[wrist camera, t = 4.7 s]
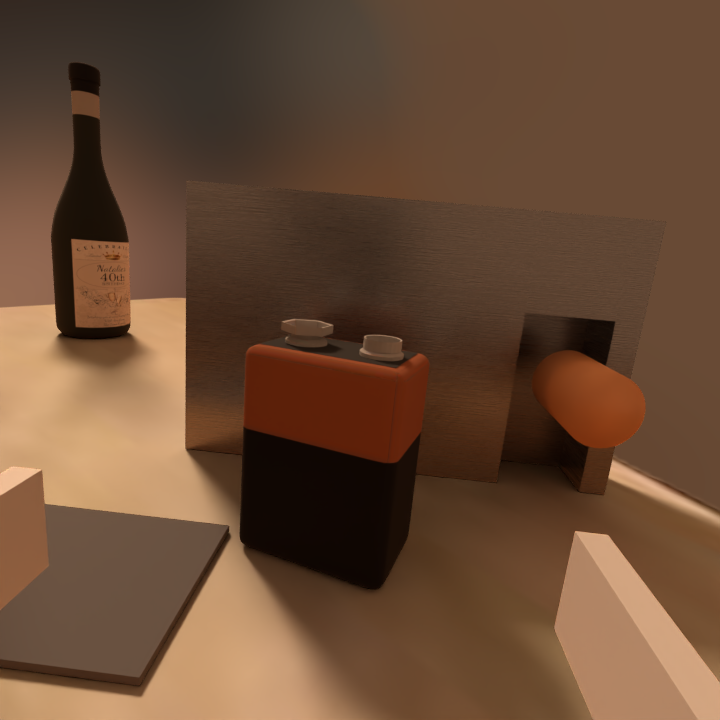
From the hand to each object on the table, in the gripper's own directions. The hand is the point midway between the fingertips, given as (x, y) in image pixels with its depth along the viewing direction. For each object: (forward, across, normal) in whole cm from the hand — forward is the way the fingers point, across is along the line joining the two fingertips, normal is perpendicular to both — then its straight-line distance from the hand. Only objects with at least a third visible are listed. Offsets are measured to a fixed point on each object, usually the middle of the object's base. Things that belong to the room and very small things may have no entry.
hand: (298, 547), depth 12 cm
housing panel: (+19, +3, -6) cm, 20 cm away
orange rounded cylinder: (+14, +12, -1) cm, 18 cm away
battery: (+9, 0, -6) cm, 11 cm away
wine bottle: (+46, -34, -6) cm, 57 cm away
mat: (+5, -10, -6) cm, 13 cm away
